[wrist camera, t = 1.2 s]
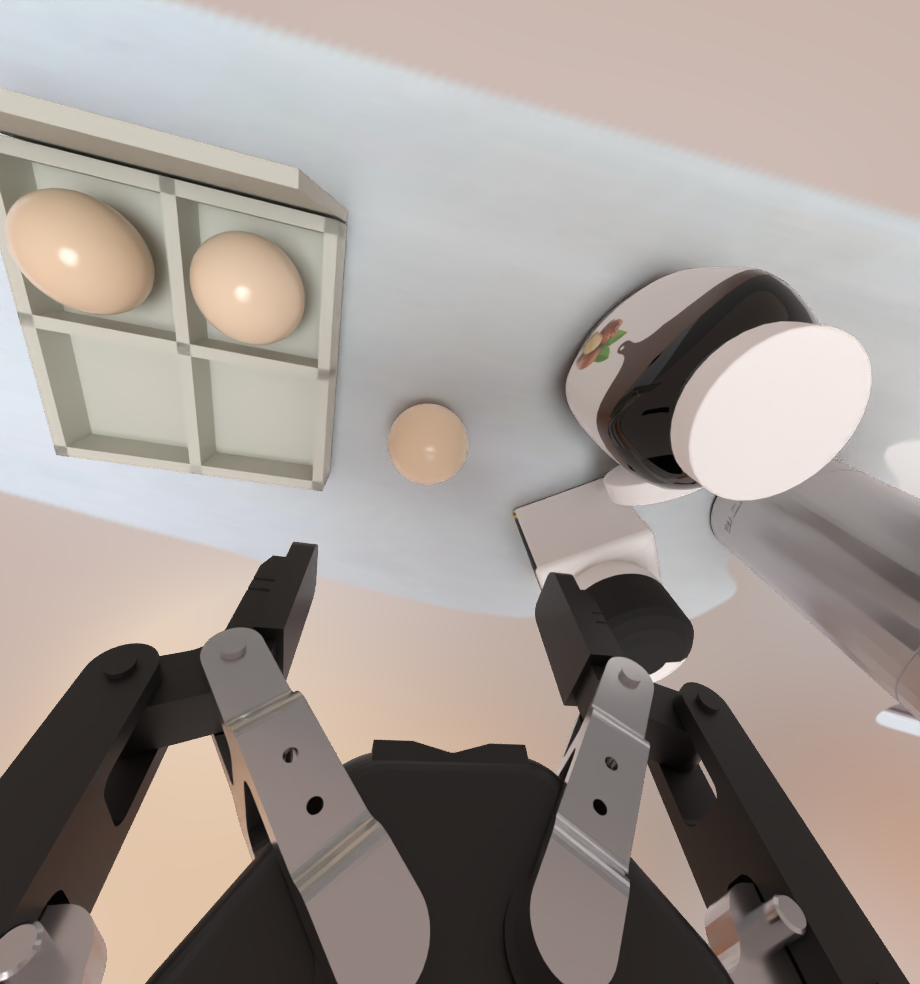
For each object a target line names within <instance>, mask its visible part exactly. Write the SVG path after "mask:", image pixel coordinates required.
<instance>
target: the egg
mask: <svg viewBox="0 0 920 984" xmlns="http://www.w3.org/2000/svg"><path fill="white" fill-rule="evenodd" d="M388 452H389V456H390V459H391V461H392V463H393V465H394V467H395V468H396V469H397V471H398V472H399V473H400V474H401V475H403V476H404V477H405V478H407V479H408V480H410V481H412V482H415V483H418V484H424V485H433V484H438V483H442V482H444V481H446V480H448V479H450V478H451V477H453V476H454V475H455V474H456V473H457V472H458V471H459V470H460V469H461V467H462V466H463V464H464V462H465V460H466V457H467V453H468V436H467V432H466V430H465V427H464V425H463V423H462V422H461V420H460V419H459V418H458V417H457V416H456V415H455V414H454V413H453V412H452V411H450V410H449V409H447V408H445V407H443V406H440V405H436V404H419V405H415V406H413V407H410V408H408V409H407V410H405V411H404V412H403V413H401V414H400V415H399V416H398V417H397V418H396V420H395V421H394V423H393V424H392V426H391V429H390V432H389V435H388Z"/></svg>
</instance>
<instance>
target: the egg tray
mask: <svg viewBox="0 0 920 984" xmlns="http://www.w3.org/2000/svg"><path fill="white" fill-rule="evenodd" d="M0 133H2V134H5V135H8V136H11V137H14V138H17V139H14V138H10V137H6V136H2V135H0V251H1V254H2V258H3V262H4V265H5V269H6V273H7V276H8V280H9V284H10V287H11V291H12V295H13V298H14V302H15V306H16V309H17V313H18V317H19V320H20V324H21V327H22V331H23V335H24V338H25V342H26V346H27V349H28V353H29V357H30V360H31V364H32V368H33V371H34V375H35V379H36V382H37V386H38V390H39V393H40V397H41V401H42V404H43V408H44V412H45V415H46V419H47V423H48V426H49V430H50V434H51V437H52V441H53V445H54V448H55V452H56V455H60V456H67V457H75V458H82V459H89V460H97V461H104V462H112V463H119V464H126V465H134V466H141V467H148V468H156V469H163V470H170V471H178V472H185V473H192V474H200V475H207V476H214V477H222V478H229V479H236V480H244V481H251V482H259V483H266V484H273V485H281V486H288V487H295V488H303V489H310V490H317V491H322V490H323V488H324V486H325V484H326V481H327V479H328V477H329V474H330V466H331V451H332V437H333V422H334V407H335V393H336V378H337V363H338V349H339V334H340V320H341V305H342V290H343V276H344V261H345V247H346V232H347V226H346V225H345V224H343V223H342V222H340V221H343V222H347V217H348V210H346V209H345V208H344V207H343V206H342V205H341V204H339V203H338V202H337V201H336V200H335V199H334V198H332V197H331V196H330V195H329V194H328V193H327V192H325V191H324V190H323V189H322V188H321V187H319V186H318V185H317V184H316V183H315V182H314V181H312V180H311V179H310V178H309V177H308V176H307V175H305V174H304V173H303V172H302V171H301V170H300V169H298V168H294V167H290V166H287V165H283V164H279V163H275V162H272V161H268V160H264V159H261V158H257V157H253V156H250V155H246V154H242V153H238V152H235V151H231V150H227V149H224V148H220V147H216V146H213V145H209V144H205V143H202V142H198V141H194V140H190V139H187V138H183V137H179V136H176V135H172V134H168V133H165V132H161V131H157V130H153V129H150V128H146V127H142V126H139V125H135V124H131V123H128V122H124V121H120V120H117V119H113V118H109V117H105V116H102V115H98V114H94V113H91V112H87V111H83V110H80V109H76V108H72V107H68V106H65V105H61V104H57V103H54V102H50V101H46V100H43V99H39V98H35V97H32V96H28V95H24V94H20V93H17V92H13V91H9V90H6V89H2V88H0ZM18 139H20V140H18ZM22 140H23V141H22ZM26 141H27V142H26ZM30 142H31V143H30ZM34 143H35V144H34ZM38 144H39V145H38ZM42 145H43V146H42ZM46 146H47V147H46ZM50 147H51V148H50ZM54 148H55V149H54ZM58 149H59V150H58ZM62 150H63V151H62ZM66 151H67V152H66ZM70 152H71V153H70ZM74 153H75V154H74ZM77 154H79V155H77ZM81 155H83V156H81ZM85 156H87V157H85ZM89 157H91V158H89ZM93 158H95V159H93ZM97 159H99V160H97ZM101 160H102V161H101ZM105 161H106V162H105ZM109 162H110V163H109ZM113 163H114V164H113ZM117 164H118V165H117ZM121 165H122V166H121ZM125 166H126V167H125ZM129 167H130V168H129ZM133 168H134V169H133ZM137 169H138V170H137ZM141 170H142V171H141ZM145 171H146V172H145ZM149 172H150V173H149ZM153 173H154V174H153ZM157 174H158V175H157ZM160 175H162V176H160ZM164 176H166V177H164ZM168 177H170V178H168ZM172 178H174V179H172ZM176 179H178V180H176ZM180 180H181V181H180ZM184 181H185V182H184ZM188 182H189V183H188ZM192 183H193V184H192ZM196 184H197V185H196ZM200 185H201V186H200ZM204 186H205V187H204ZM208 187H209V188H208ZM46 188H63V189H69V190H75V191H78V192H81V193H84V194H87V195H90V196H92V197H95V198H97V199H99V200H101V201H102V202H104V203H106V204H108V205H109V206H111V207H112V208H114V209H115V210H117V211H118V212H119V213H120V214H122V215H123V216H124V217H125V218H126V219H127V220H128V221H129V222H130V223H131V224H132V225H133V226H134V227H135V228H136V229H137V231H138V232H139V233H140V235H141V236H142V238H143V239H144V241H145V242H146V244H147V246H148V248H149V250H150V253H151V255H152V259H153V262H154V268H155V278H154V284H153V288H152V290H151V292H150V294H149V296H148V297H147V298H146V300H145V301H144V302H143V303H142V304H140V305H139V306H138V307H136V308H135V309H132V310H130V311H128V312H125V313H121V314H116V315H96V314H89V313H85V312H81V311H78V310H75V309H72V308H69V307H67V306H65V305H63V304H61V303H59V302H57V301H55V300H53V299H52V298H50V297H48V296H47V295H46V294H44V293H43V292H41V291H40V290H39V289H38V288H37V287H36V286H34V285H33V284H32V283H31V282H30V281H29V280H28V279H27V278H26V277H25V275H24V274H23V273H22V272H21V271H20V269H19V268H18V266H17V265H16V263H15V262H14V260H13V258H12V256H11V254H10V252H9V249H8V246H7V243H6V238H5V222H6V218H7V214H8V212H9V210H10V208H11V207H12V206H13V204H14V203H15V202H16V201H17V200H18V199H19V198H21V197H22V196H24V195H25V194H27V193H30V192H32V191H35V190H39V189H46ZM212 188H213V189H212ZM216 189H217V190H216ZM220 190H221V191H220ZM224 191H225V192H224ZM228 192H229V193H228ZM232 193H233V194H232ZM236 194H237V195H236ZM240 195H241V196H240ZM243 196H245V197H243ZM247 197H249V198H247ZM251 198H253V199H251ZM255 199H257V200H255ZM259 200H260V201H259ZM263 201H264V202H263ZM267 202H268V203H267ZM271 203H272V204H271ZM275 204H276V205H275ZM279 205H280V206H279ZM283 206H284V207H283ZM287 207H288V208H287ZM291 208H292V209H291ZM295 209H296V210H295ZM299 210H300V211H299ZM303 211H304V212H303ZM307 212H308V213H307ZM311 213H312V214H311ZM315 214H316V215H315ZM319 215H320V216H319ZM323 216H324V217H323ZM326 217H328V218H326ZM330 218H332V219H330ZM334 219H336V220H334ZM338 220H340V221H338ZM225 231H245V232H250V233H254V234H257V235H259V236H261V237H263V238H266V239H267V240H269V241H271V242H272V243H274V244H275V245H276V246H278V247H279V248H280V249H281V250H282V251H283V252H284V253H285V254H286V255H287V256H288V257H289V258H290V260H291V261H292V262H293V264H294V265H295V267H296V268H297V270H298V272H299V274H300V277H301V279H302V282H303V286H304V291H305V308H304V313H303V316H302V319H301V321H300V323H299V325H298V326H297V328H296V329H295V330H294V331H293V332H292V333H291V334H290V335H289V336H288V337H286V338H285V339H283V340H281V341H279V342H276V343H272V344H268V345H251V344H245V343H242V342H239V341H236V340H234V339H232V338H230V337H228V336H226V335H224V334H223V333H221V332H220V331H219V330H217V329H216V328H215V327H214V326H213V325H212V324H211V323H210V322H209V321H208V320H207V319H206V318H205V317H204V315H203V314H202V312H201V311H200V309H199V308H198V306H197V304H196V302H195V299H194V297H193V294H192V290H191V285H190V266H191V262H192V259H193V257H194V254H195V253H196V251H197V250H198V248H199V247H200V246H201V244H202V243H203V242H204V241H206V240H207V239H208V238H210V237H212V236H214V235H216V234H218V233H222V232H225Z"/></svg>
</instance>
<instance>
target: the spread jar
mask: <svg viewBox="0 0 920 984" xmlns="http://www.w3.org/2000/svg"><path fill="white" fill-rule="evenodd" d="M871 383H872V377H871V365H870V362H869V359H868V356H867V353H866V351H865V349H864V348H863V347H862V345H861V344H860V343H859V341H858V340H857V339H856V338H854V337H853V336H851V335H850V334H849V333H847V332H846V331H844V330H841V329H837V328H834V327H831V326H825V325H819V322H818V320H817V319H816V317H815V315H814V313H813V312H812V310H811V309H810V308H809V306H808V305H807V304H806V303H805V301H804V300H803V299H802V298H801V297H800V295H799V294H798V293H797V292H796V291H795V290H794V289H793V288H792V287H791V286H790V285H788V284H787V283H786V282H784V281H783V280H781V279H779V278H778V277H776V276H774V275H772V274H770V273H768V272H766V271H762V270H759V269H754V268H749V267H703V268H691V269H685V270H681V271H678V272H675V273H672V274H670V275H667V276H664V277H662V278H660V279H658V280H656V281H654V282H652V283H651V284H649V285H647V286H646V287H644V288H642V289H640V290H639V291H637V292H636V293H634V294H633V295H631V296H630V297H628V298H627V299H625V300H624V301H623V302H621V303H620V304H619V305H617V306H616V307H615V308H614V309H612V310H611V311H610V312H609V313H608V314H607V315H606V316H605V317H604V318H603V319H602V320H601V321H600V322H599V323H598V324H597V325H596V326H595V327H594V329H593V330H592V331H591V332H590V334H589V335H588V337H587V338H586V340H585V341H584V343H583V344H582V346H581V348H580V349H579V351H578V353H577V355H576V357H575V359H574V361H573V363H572V365H571V368H570V371H569V374H568V377H567V381H566V396H567V401H568V404H569V407H570V409H571V411H572V413H573V414H574V416H575V418H576V419H577V421H578V422H579V424H580V425H581V426H582V428H583V429H584V430H585V431H586V433H587V434H588V435H589V436H590V437H591V438H592V439H593V440H594V441H595V442H596V443H597V444H598V445H599V446H600V447H601V448H602V449H603V450H604V451H605V452H606V453H607V454H608V455H609V456H610V457H611V458H612V459H614V460H615V461H616V462H617V463H618V464H620V465H618V466H616V467H615V468H613V469H612V470H611V471H609V472H608V473H607V474H606V475H605V477H604V480H603V482H604V484H605V487H606V490H607V492H608V495H609V498H610V500H611V501H612V502H613V503H615V504H619V505H625V506H639V505H648V504H654V503H659V502H664V501H668V500H672V499H675V498H679V497H682V496H685V495H688V494H690V493H693V492H696V491H698V490H700V489H702V488H705V489H707V490H708V491H709V492H711V493H713V494H715V495H717V496H719V497H722V498H725V499H731V500H736V501H745V500H756V499H762V498H767V497H770V496H773V495H776V494H779V493H782V492H785V491H787V490H789V489H791V488H793V487H795V486H797V485H799V484H800V483H802V482H803V481H805V480H807V479H808V478H810V477H811V476H813V475H814V474H816V473H817V472H818V471H819V470H820V469H821V468H823V467H824V466H825V465H826V464H827V463H829V462H830V461H831V460H832V459H833V458H834V456H835V455H836V454H837V453H838V452H839V451H840V450H841V449H842V448H843V447H844V445H845V444H846V443H847V441H848V440H849V438H850V437H851V436H852V434H853V433H854V431H855V430H856V428H857V426H858V424H859V422H860V420H861V418H862V417H863V414H864V412H865V409H866V406H867V403H868V400H869V396H870V390H871Z"/></svg>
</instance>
